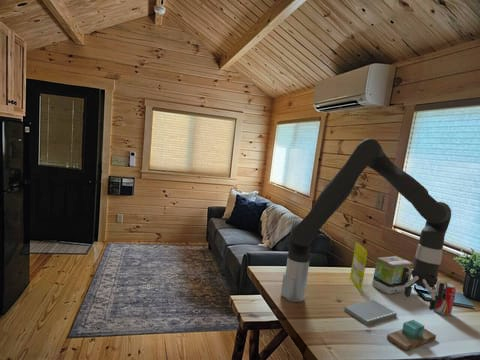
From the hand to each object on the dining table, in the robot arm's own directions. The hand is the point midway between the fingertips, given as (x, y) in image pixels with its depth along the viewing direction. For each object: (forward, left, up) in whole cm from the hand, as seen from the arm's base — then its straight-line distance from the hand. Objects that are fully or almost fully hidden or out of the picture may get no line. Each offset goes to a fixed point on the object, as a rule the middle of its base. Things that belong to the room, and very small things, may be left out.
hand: (419, 302), depth 106 cm
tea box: (+32, +31, -14) cm, 47 cm away
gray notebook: (0, +18, -14) cm, 23 cm away
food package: (+16, +39, -14) cm, 45 cm away
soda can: (+34, +8, -14) cm, 38 cm away
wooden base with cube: (0, 0, -14) cm, 14 cm away
